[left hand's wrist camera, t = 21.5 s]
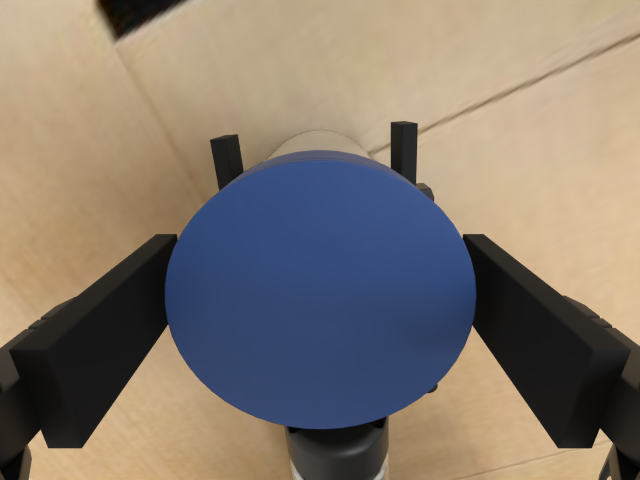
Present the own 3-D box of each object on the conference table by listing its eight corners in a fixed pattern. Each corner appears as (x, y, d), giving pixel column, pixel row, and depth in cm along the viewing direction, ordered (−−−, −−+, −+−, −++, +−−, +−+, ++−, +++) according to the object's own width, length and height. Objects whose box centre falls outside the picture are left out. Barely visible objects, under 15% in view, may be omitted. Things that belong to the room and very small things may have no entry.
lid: (166, 342, 13) (137, 385, 11) (231, 102, 10) (208, 101, 8) (382, 406, 14) (393, 457, 12) (500, 210, 11) (540, 234, 9)
